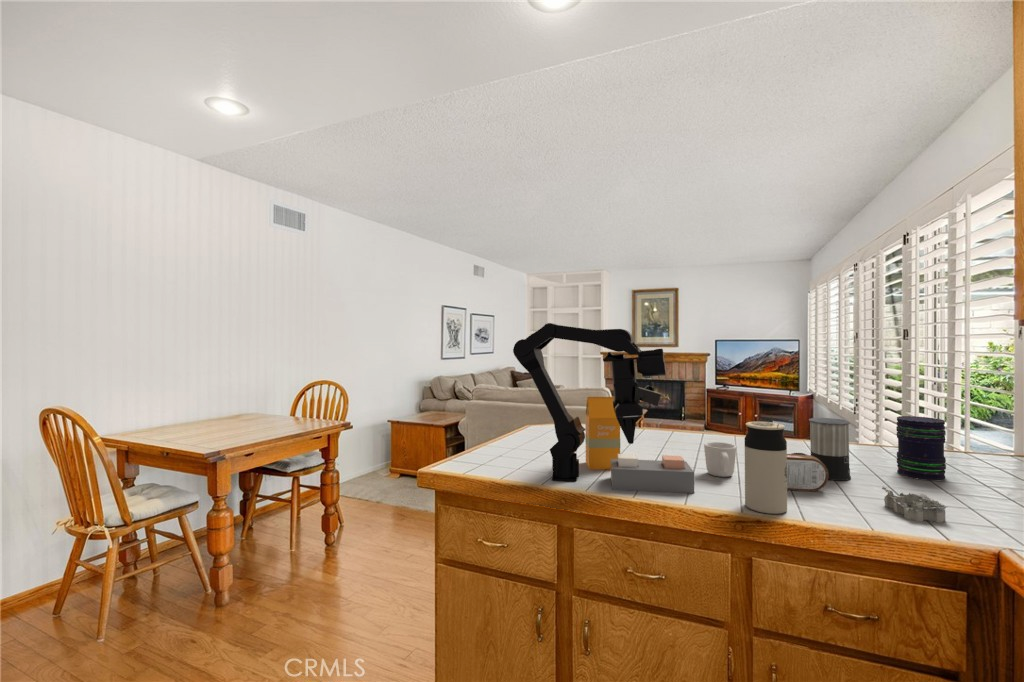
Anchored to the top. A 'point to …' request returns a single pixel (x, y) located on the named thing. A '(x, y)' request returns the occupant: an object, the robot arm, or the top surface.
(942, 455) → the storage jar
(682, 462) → the terracotta key
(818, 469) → the tin
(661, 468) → the key console
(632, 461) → the cream key
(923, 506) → the egg carton
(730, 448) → the cup
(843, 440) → the milk frother
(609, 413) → the orange juice
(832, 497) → the top surface
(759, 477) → the travel mug
